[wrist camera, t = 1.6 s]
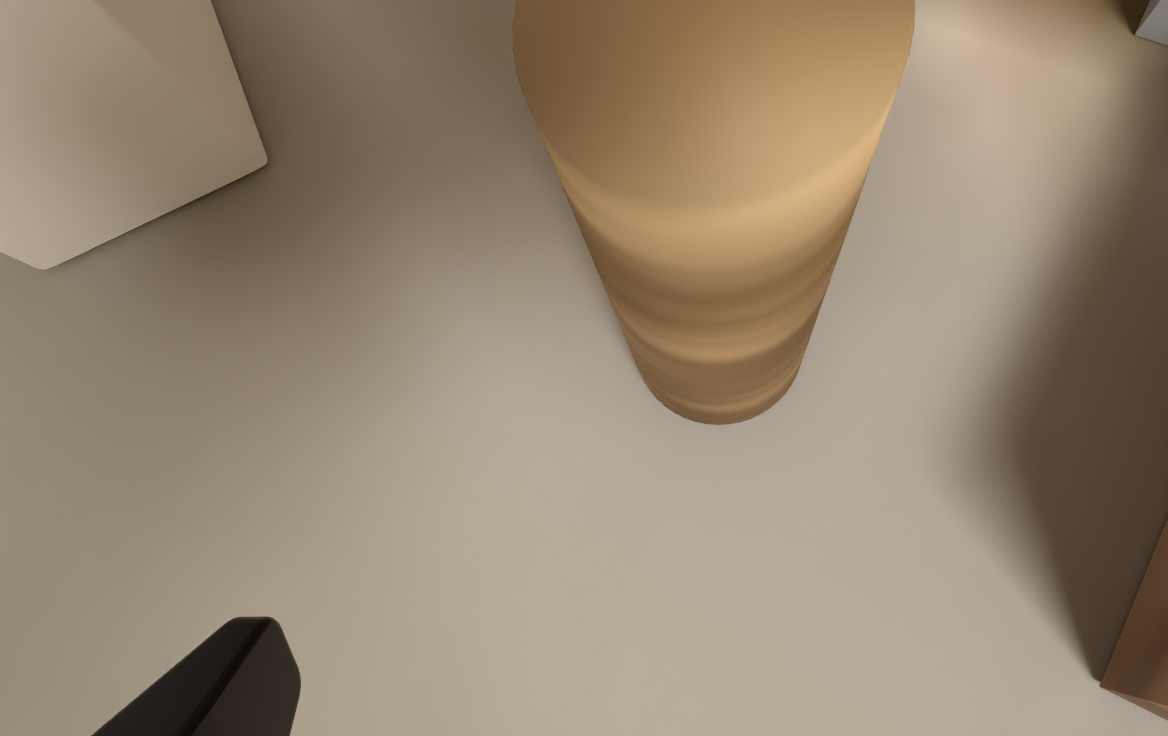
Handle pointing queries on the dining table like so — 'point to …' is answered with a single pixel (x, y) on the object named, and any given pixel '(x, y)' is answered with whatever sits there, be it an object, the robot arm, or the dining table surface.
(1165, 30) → the stop rail
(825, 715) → the dining table surface
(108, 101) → the milk carton
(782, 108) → the dowel
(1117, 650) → the socket block
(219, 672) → the robot arm
